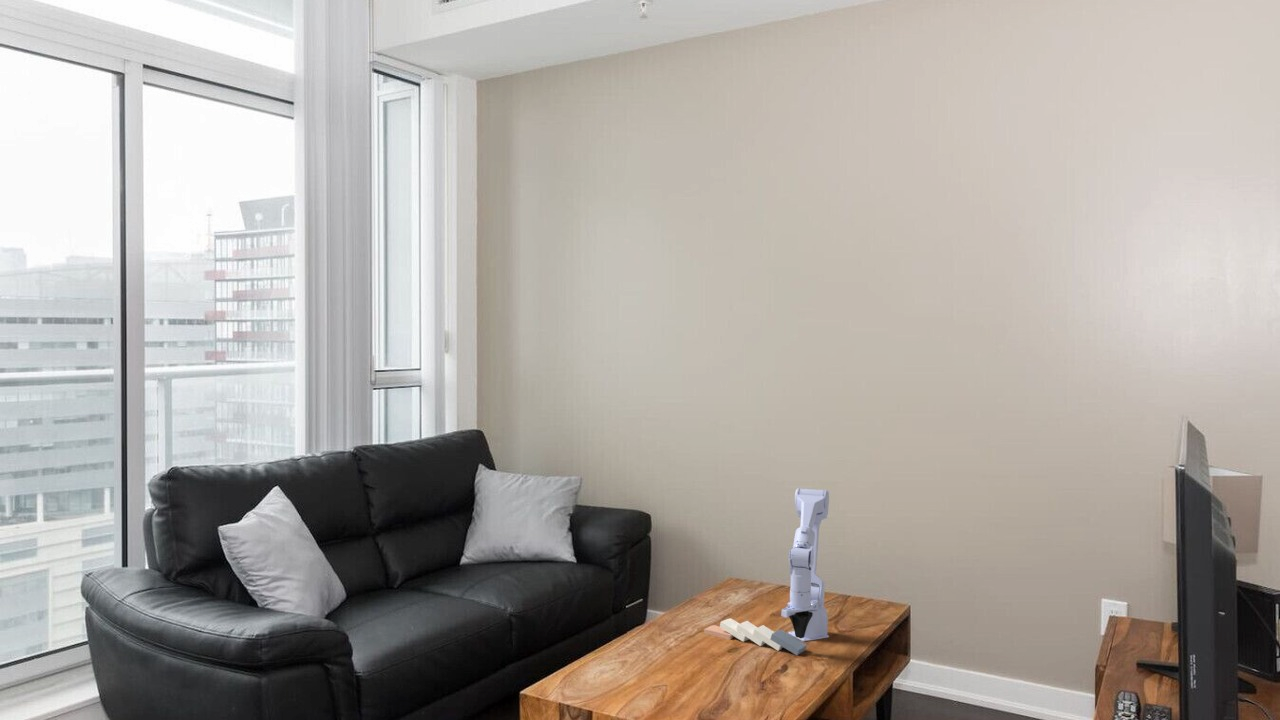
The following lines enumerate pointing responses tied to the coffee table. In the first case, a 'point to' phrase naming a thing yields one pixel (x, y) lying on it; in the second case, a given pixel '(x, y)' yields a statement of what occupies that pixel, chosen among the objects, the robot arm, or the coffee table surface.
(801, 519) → the robot arm
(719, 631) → the domino
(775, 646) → the domino
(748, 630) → the domino
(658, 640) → the coffee table surface
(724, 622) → the domino
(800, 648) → the domino
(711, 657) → the coffee table surface
